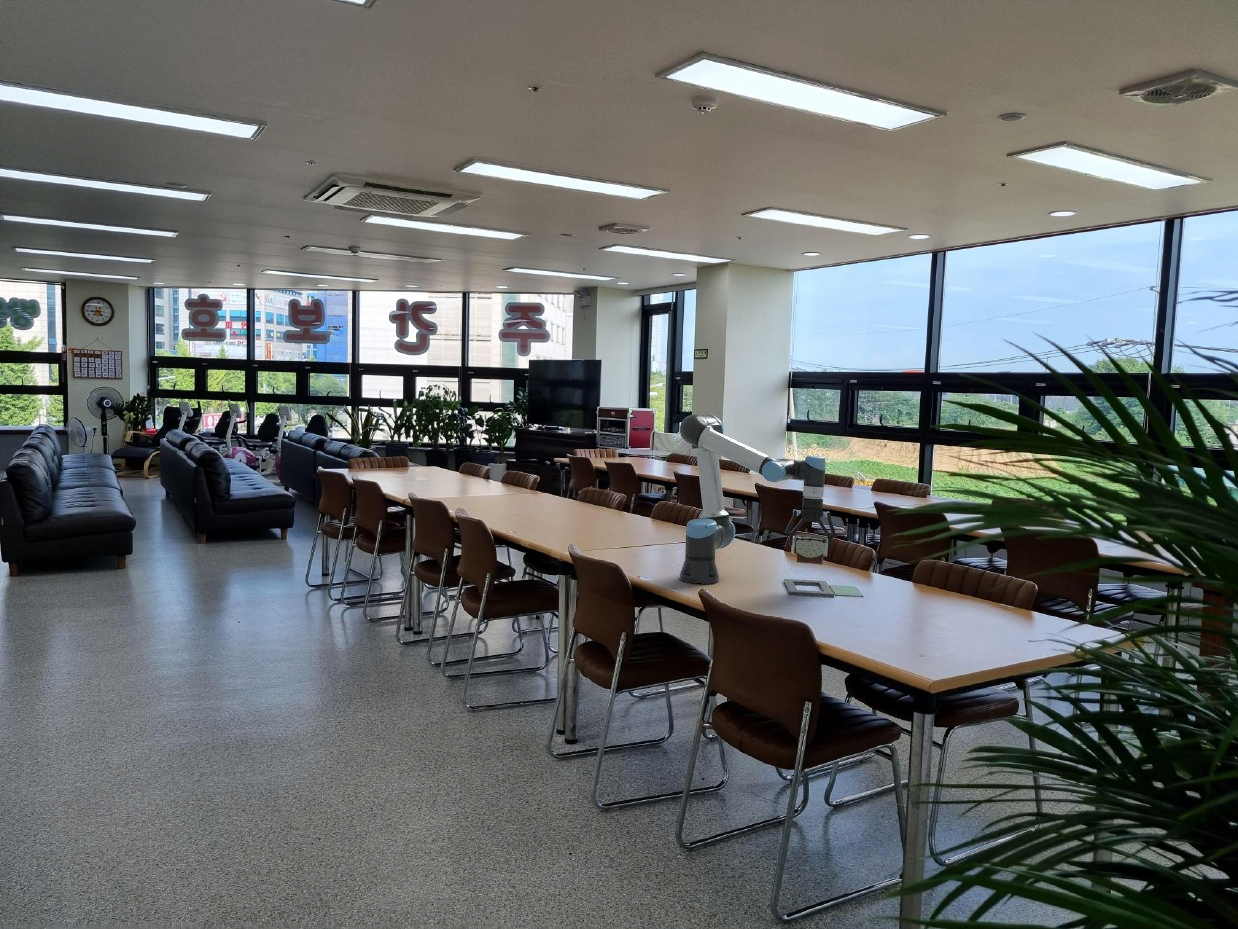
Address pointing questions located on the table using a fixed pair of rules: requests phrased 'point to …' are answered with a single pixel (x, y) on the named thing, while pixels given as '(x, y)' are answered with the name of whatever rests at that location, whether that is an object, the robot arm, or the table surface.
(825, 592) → the grey rectangular frame
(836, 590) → the pad
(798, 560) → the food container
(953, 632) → the table surface
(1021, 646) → the table surface
